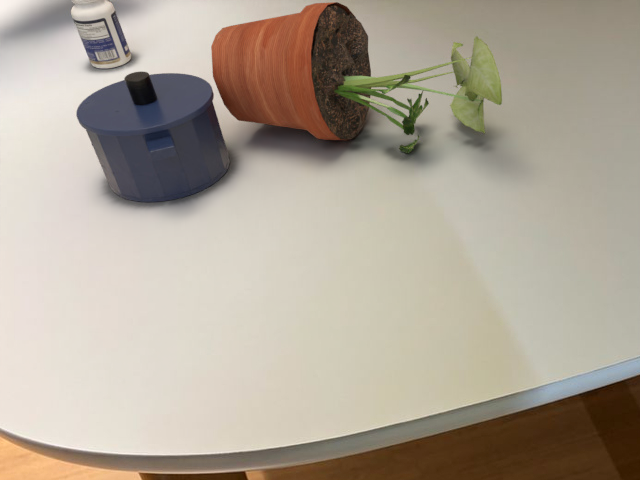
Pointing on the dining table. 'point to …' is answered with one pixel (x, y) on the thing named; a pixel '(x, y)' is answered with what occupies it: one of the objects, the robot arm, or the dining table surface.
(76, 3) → the pill bottle
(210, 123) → the pot
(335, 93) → the potted plant
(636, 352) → the dining table surface
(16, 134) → the dining table surface
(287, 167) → the dining table surface
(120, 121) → the pot lid
